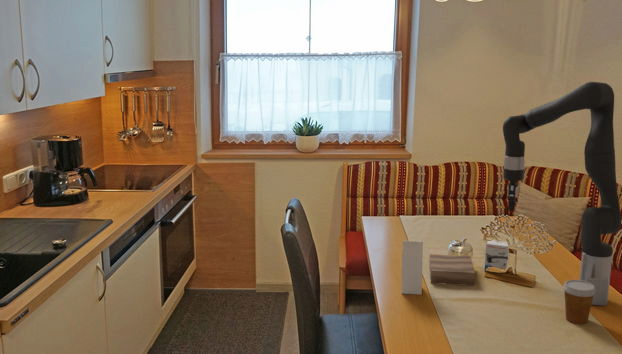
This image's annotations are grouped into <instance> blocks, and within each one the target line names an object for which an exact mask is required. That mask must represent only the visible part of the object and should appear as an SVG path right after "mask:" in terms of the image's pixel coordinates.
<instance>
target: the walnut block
mask: <svg viewBox="0 0 622 354" xmlns="http://www.w3.org/2000/svg"><path fill="white" fill-rule="evenodd" d="M429 278H430V279H429V280H431V281H430V284H438V283H446V284H445V285H458V284H467V285H466V286H475V284H476V283H475V281H476V280H475V278H476V272H475V268H474V264H473V261H472V257H471V256H470V255H454V254H452V255H449V254H429Z"/></svg>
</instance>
